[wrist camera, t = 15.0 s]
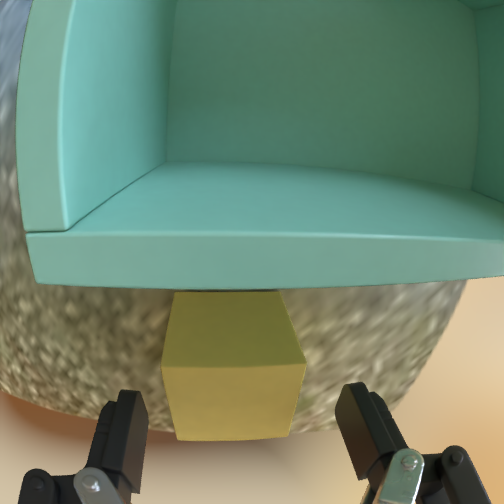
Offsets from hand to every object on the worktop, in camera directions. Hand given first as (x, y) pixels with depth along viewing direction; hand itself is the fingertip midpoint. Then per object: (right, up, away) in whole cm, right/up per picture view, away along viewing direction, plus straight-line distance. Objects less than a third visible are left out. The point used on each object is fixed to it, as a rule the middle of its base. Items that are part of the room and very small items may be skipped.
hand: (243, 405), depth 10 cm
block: (-1, +2, +4) cm, 5 cm away
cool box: (+5, +15, 0) cm, 15 cm away
